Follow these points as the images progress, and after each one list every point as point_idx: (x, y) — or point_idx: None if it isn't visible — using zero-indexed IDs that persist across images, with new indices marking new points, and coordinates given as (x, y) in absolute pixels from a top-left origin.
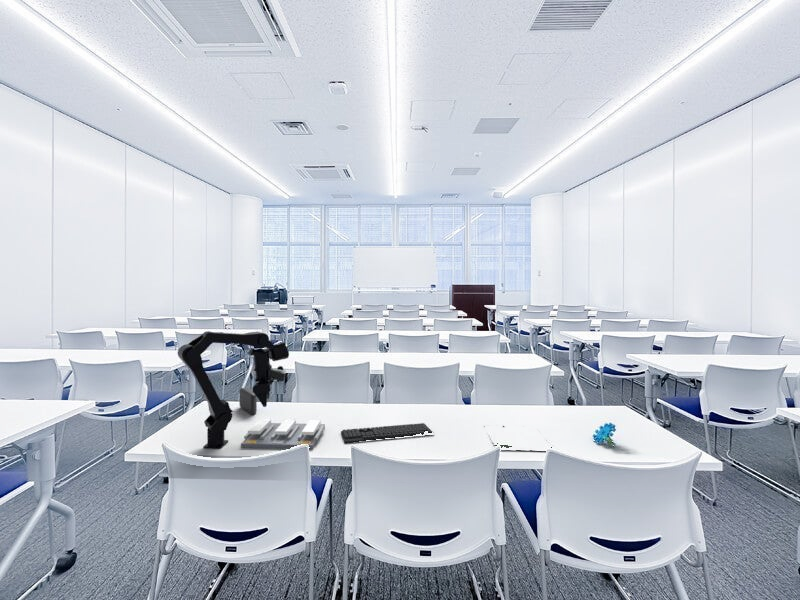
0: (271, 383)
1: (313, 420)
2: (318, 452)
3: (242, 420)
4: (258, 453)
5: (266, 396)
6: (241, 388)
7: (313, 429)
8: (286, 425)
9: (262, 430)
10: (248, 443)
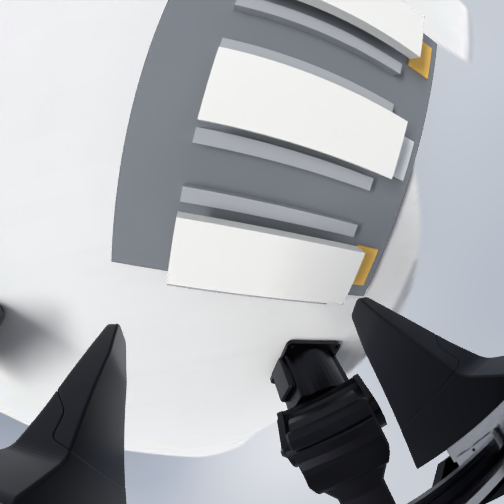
0: (46, 478)
1: None
2: (445, 42)
3: (57, 337)
4: (416, 223)
5: (459, 352)
6: None
7: (399, 3)
8: (324, 109)
9: (325, 240)
10: (372, 271)
